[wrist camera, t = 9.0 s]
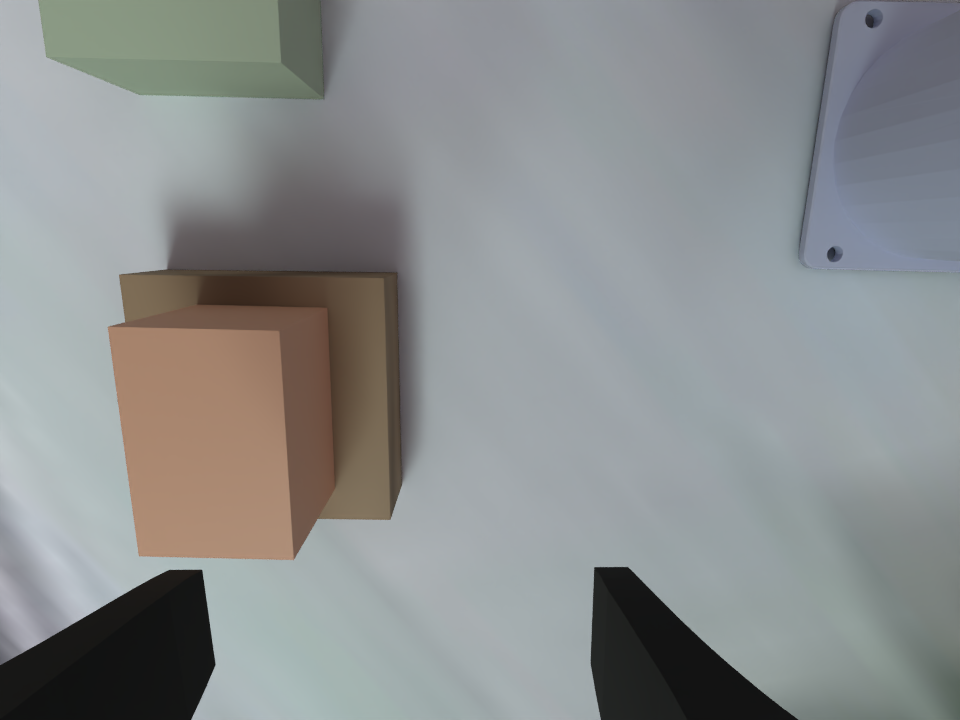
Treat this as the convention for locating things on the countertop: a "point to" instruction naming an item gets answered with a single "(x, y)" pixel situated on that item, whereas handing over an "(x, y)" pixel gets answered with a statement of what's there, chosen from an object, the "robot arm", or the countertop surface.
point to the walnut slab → (353, 361)
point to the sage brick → (191, 45)
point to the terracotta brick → (226, 428)
